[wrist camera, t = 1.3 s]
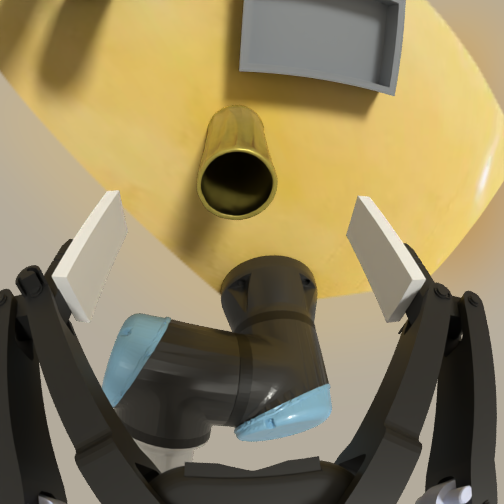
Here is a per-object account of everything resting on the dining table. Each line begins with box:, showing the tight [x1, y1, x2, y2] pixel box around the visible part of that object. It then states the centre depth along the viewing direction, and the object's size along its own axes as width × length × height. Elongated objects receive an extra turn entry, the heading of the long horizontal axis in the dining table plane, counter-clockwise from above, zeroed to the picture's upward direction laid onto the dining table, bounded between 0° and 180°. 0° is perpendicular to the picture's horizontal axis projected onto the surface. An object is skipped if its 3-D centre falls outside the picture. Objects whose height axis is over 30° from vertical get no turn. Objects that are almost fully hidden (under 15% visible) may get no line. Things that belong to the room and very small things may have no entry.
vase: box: [197, 105, 277, 220], centre depth 23 cm, size 6×6×14 cm
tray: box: [239, 0, 406, 96], centre depth 20 cm, size 12×16×4 cm
